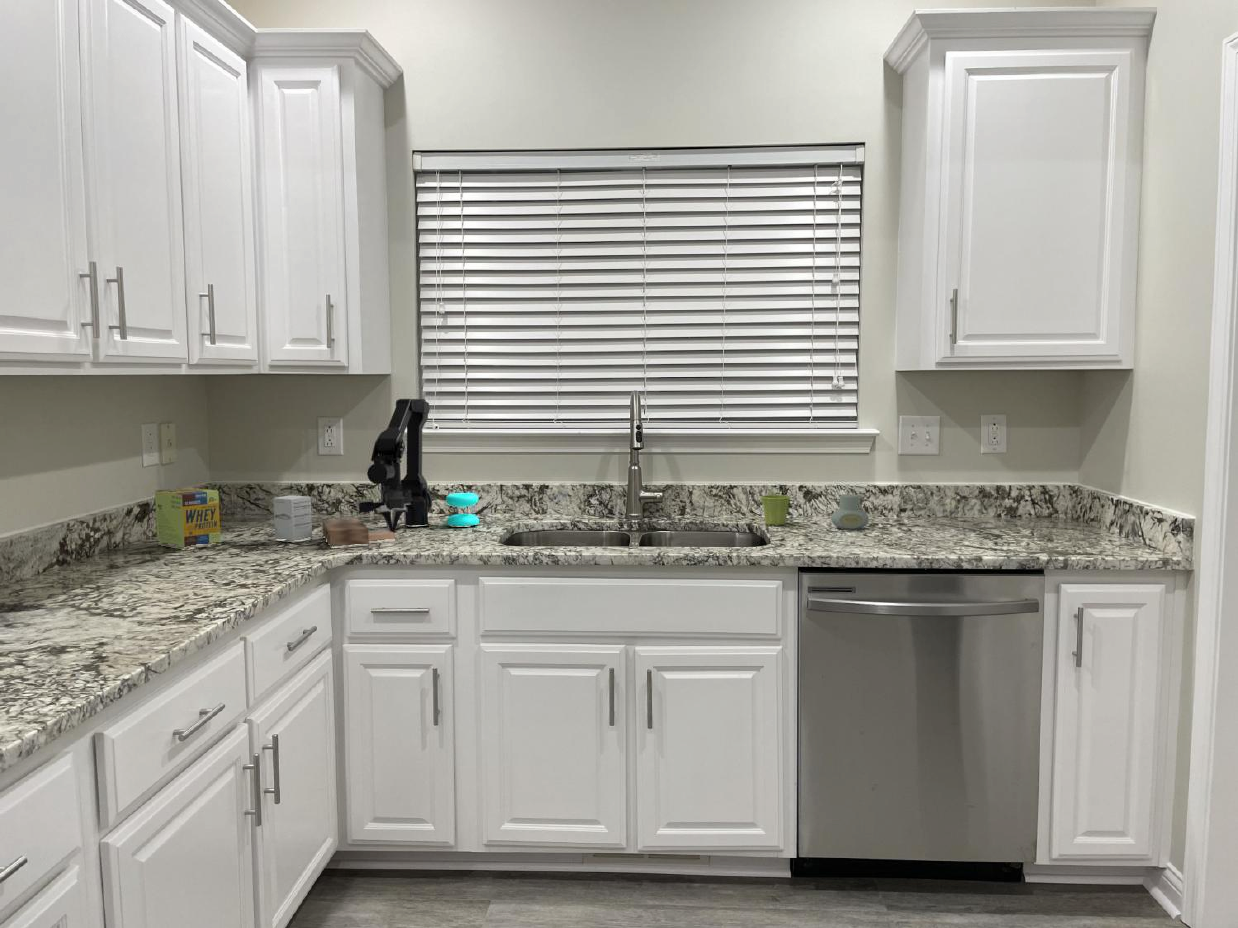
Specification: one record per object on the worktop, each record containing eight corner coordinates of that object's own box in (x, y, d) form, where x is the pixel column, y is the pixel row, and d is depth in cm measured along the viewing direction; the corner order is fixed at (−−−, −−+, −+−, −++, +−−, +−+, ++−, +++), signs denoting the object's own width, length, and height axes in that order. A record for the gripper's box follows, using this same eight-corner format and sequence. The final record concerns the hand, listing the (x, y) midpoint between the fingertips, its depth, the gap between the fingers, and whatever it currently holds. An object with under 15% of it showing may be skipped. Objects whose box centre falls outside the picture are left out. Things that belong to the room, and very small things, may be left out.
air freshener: (866, 526, 271) (867, 493, 270) (870, 530, 263) (870, 497, 262) (829, 526, 273) (830, 493, 272) (832, 530, 265) (832, 496, 264)
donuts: (485, 493, 279) (461, 497, 271) (485, 525, 280) (462, 529, 272) (462, 491, 285) (439, 494, 277) (463, 522, 286) (439, 526, 278)
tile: (386, 539, 259) (385, 529, 259) (395, 543, 252) (394, 532, 252) (333, 544, 251) (333, 534, 251) (341, 549, 244) (340, 538, 244)
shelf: (358, 535, 263) (357, 518, 263) (368, 546, 245) (368, 528, 245) (322, 537, 259) (322, 520, 259) (330, 549, 241) (330, 530, 241)
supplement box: (274, 541, 254) (272, 497, 252) (294, 537, 260) (292, 494, 259) (292, 543, 250) (290, 499, 249) (313, 539, 257) (311, 495, 255)
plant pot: (754, 522, 280) (754, 495, 280) (781, 521, 283) (782, 493, 282) (768, 527, 271) (768, 498, 271) (796, 525, 274) (796, 497, 273)
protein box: (184, 551, 240) (181, 494, 238) (156, 545, 249) (153, 490, 248) (222, 545, 248) (219, 490, 247) (193, 540, 257) (190, 486, 256)
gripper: (361, 484, 245) (363, 541, 246) (429, 481, 252) (430, 535, 254) (355, 481, 255) (357, 535, 256) (421, 477, 263) (422, 530, 264)
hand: (392, 534), depth 257 cm, fingers closed
